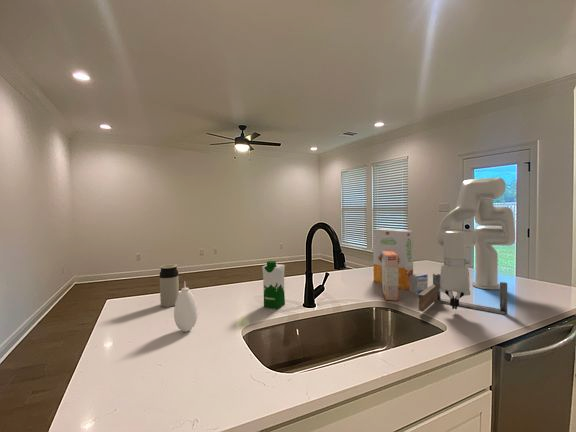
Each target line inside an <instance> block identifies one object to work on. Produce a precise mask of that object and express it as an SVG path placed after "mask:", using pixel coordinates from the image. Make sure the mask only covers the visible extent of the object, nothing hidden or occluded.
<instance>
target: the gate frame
mask: <svg viewBox="0 0 576 432" xmlns="http://www.w3.org/2000/svg"><path fill="white" fill-rule="evenodd" d="M440 274H441V273H432V284H437V285H438V287H437V300H436V301H435V302H434V303H439V302H441V303H440V304H445V303H447V304H446V305H450V299H445V298H441V297H442V296H441V293H442V292H440V291H439V290H440ZM499 285H500V289H499V308H497V307H491V306H485V305H480V304H474V303H469V302H462V301H459V307H461V306H464V307H463V308H466V307H470V308H469V309H472V308H475V309H474V310H477V309H479V310H478V311H483V310H484V311H483V312H489V313H495V314H500V315H508V282H505V281H504V282H503V281H502V282H501V281H500V282H499Z"/></svg>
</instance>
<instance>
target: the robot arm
mask: <svg viewBox="0 0 576 432" xmlns="http://www.w3.org/2000/svg"><path fill="white" fill-rule="evenodd" d="M506 188H507V186H506V182H505V180H504V178H502V177H491V178H490V177H489V178H475V179H473V178H472V179H466V180H463V182H461V187H460V190H459V194H458V198H457V202H456V207H455V208H454V209H453V210H450V212H449V213H447V214H446V215H445V216H444V217H443V218H442V219H441V221H440V223H439V227H438V230H437V235H436V238H437V239H436V240H437V242H438V244H439V245H440V246H441V247H443V264H441V268H440V273H439V274H440V290H439V291H440V292H441V293H443V294H445V295H447V296H448V298H449V300H450V304H449V306H451V309H452V310H454V309H455V310H458V308H459V307H460V306H459V302H460V299H461V298H462V297H464V296H466V297H467V296H470V295H471V290H470V288H471V287H470V285H472V287H474V286H475V288H478V289H481V290H483V289H484V290H490V291H491V290H492V291H494V290H495V291H496V290H500V283H498V279H499V278H498V277H499V276H498V274H499V269H498V265H499V264H498V263H499V262H498V261H499V260H498V259H499V258H498V257H499V256H498V252H497V250H496V248H495V247H493V246H506V247H507V246H509V247H510V246H512V245H514V244H515V241H516V226H515V218H514V213H513V210H512V209H511V207H508V206H495V205H494V200H496V199H499V198H500V197H502V196H503V195H504V193H506ZM471 218H474V221H475V223H476V224H477V225H479V226H476V227H475V228H474V229H473V230H471V229H461V228H460V229H459V228H458V229H457V228H451V227H452V226H454V225H456V224H457V223H460V222H464V221H466V220H469V219H471ZM474 247H475V248H474ZM471 248H474V249H475V281H473V282H472V284H470V283H471V282H470V271H469V270H470V269H469V267H468V265H470V262H471V260H469V259H466V249H471ZM453 292H456V295H455V296H454V294H453Z"/></svg>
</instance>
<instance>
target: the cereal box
mask: <svg viewBox="0 0 576 432" xmlns="http://www.w3.org/2000/svg"><path fill="white" fill-rule="evenodd" d="M413 233H414V231H413V230H405V229H393V228H373V229H372V237H373V238H372V244H373V245H372V247H373V249H372V251H373V252H372V253H373V255H372V256H373V259H372V260H373V265H372V266H373V281H374V282H377V283H381V284H382V251H393V252H394V253H396V254H397V255H398V289H401V290H404V291H407V290H410V275H414V234H413Z"/></svg>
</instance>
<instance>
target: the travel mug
mask: <svg viewBox="0 0 576 432" xmlns="http://www.w3.org/2000/svg"><path fill="white" fill-rule="evenodd" d="M159 268H160V272H159V291H160V292H159V295H160V296H159V297H160V306H161V307H164V308H171V307H170V306H172V307H175V306H174V305H175V303H176V300H177V297H178V295H179V294H180V288H179V287H180V284H179V278H180V277H179V271H178V264H175V263H172V264H171V263H170V264H164V265H160V266H159Z"/></svg>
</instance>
